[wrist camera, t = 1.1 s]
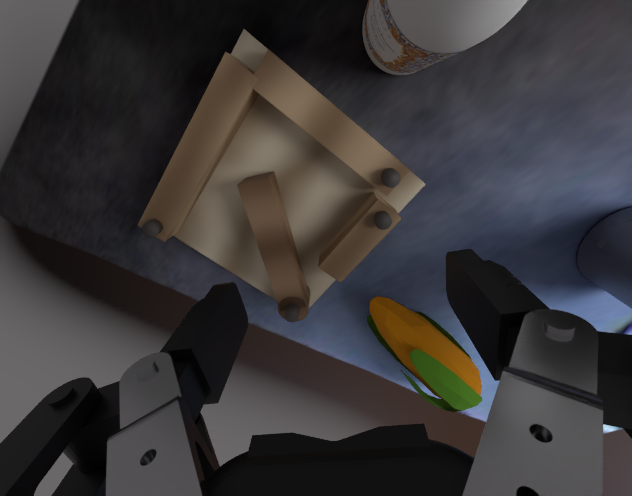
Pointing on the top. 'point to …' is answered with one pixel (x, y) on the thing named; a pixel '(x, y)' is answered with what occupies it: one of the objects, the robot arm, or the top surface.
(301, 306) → the brown rectangular block
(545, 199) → the top surface
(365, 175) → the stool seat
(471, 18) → the bath foam
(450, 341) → the corn
